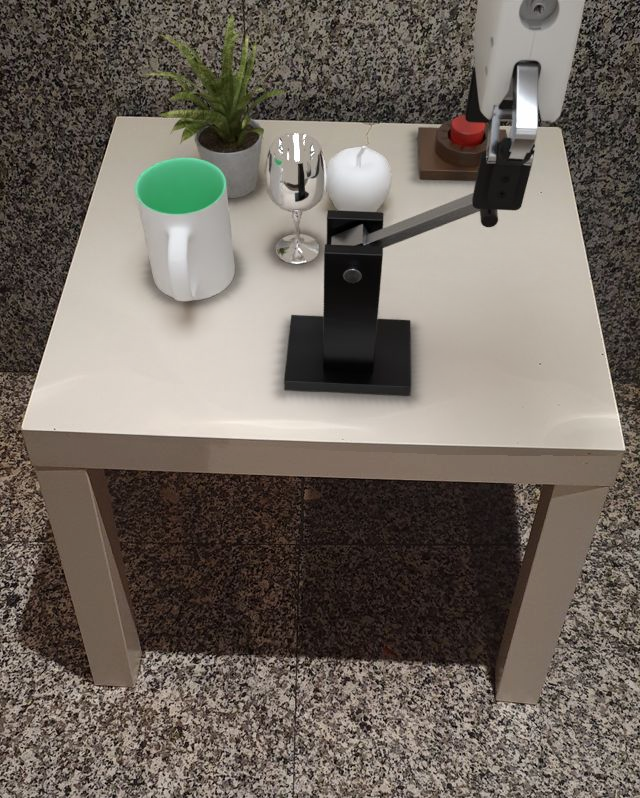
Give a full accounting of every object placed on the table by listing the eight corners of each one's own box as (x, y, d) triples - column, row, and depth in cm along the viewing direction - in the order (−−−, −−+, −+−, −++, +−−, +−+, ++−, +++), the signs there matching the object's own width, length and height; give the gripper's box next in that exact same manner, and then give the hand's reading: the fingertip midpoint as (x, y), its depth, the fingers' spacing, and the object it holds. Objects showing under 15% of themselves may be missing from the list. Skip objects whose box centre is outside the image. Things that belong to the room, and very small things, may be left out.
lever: (498, 184, 63) (486, 160, 61) (503, 230, 60) (491, 206, 58) (346, 244, 68) (332, 223, 67) (343, 288, 65) (328, 268, 64)
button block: (504, 138, 96) (508, 115, 94) (511, 181, 92) (516, 158, 89) (417, 135, 97) (419, 113, 94) (419, 179, 92) (422, 156, 89)
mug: (236, 328, 78) (226, 243, 70) (149, 333, 78) (129, 247, 69) (234, 242, 85) (225, 155, 77) (155, 245, 85) (137, 159, 77)
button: (481, 128, 93) (483, 115, 92) (484, 148, 91) (486, 134, 90) (449, 128, 93) (450, 114, 92) (450, 147, 91) (452, 133, 90)
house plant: (170, 138, 96) (147, -3, 83) (290, 136, 97) (286, -5, 84) (159, 219, 87) (132, 75, 75) (291, 217, 88) (287, 73, 75)
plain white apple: (347, 238, 86) (349, 174, 79) (311, 200, 89) (311, 136, 83) (403, 215, 88) (410, 151, 82) (366, 179, 92) (369, 115, 85)
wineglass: (335, 241, 85) (338, 140, 76) (309, 275, 82) (307, 175, 73) (286, 223, 87) (283, 122, 78) (258, 257, 84) (251, 155, 74)
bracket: (409, 328, 78) (425, 201, 66) (409, 396, 73) (427, 271, 61) (291, 323, 78) (287, 195, 67) (284, 390, 73) (278, 264, 62)
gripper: (645, -25, 40) (559, 248, 53) (593, -163, 50) (532, 94, 64) (486, -31, 40) (440, 242, 53) (467, -167, 50) (433, 89, 64)
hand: (490, 161), depth 59 cm, fingers open, 9 cm apart
